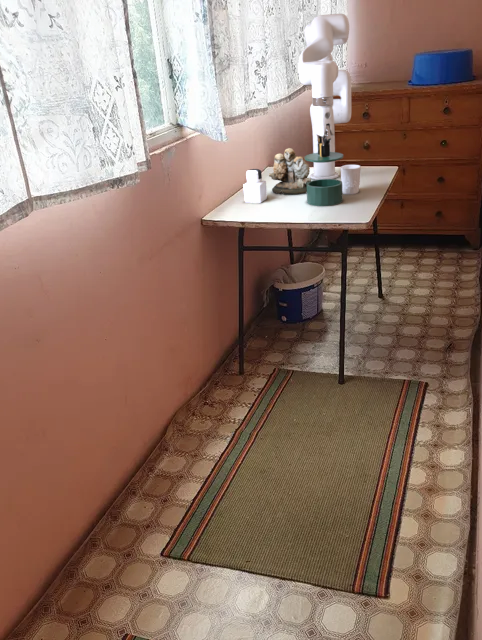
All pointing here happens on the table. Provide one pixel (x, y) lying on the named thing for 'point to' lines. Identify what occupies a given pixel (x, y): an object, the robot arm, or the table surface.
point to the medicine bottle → (254, 187)
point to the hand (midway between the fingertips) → (323, 154)
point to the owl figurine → (290, 173)
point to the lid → (319, 159)
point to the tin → (324, 192)
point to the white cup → (350, 179)
